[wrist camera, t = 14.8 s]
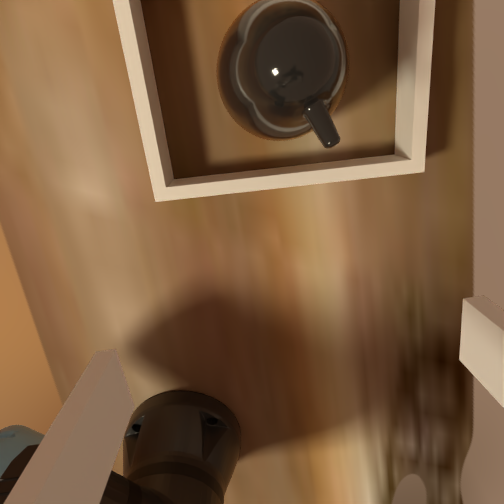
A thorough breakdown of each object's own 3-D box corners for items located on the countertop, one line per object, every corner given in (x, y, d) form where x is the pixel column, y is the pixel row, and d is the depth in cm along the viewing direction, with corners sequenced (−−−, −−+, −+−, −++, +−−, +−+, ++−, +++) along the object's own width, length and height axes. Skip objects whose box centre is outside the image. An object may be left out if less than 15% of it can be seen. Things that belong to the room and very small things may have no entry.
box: (164, 192, 37) (155, 201, 33) (120, -26, 30) (103, -44, 27) (406, 165, 36) (424, 172, 33) (416, -65, 30) (441, -89, 26)
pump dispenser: (256, 158, 36) (261, 193, 22) (198, 54, 33) (161, 16, 18) (350, 102, 34) (423, 102, 20) (301, -14, 31) (346, -112, 17)
